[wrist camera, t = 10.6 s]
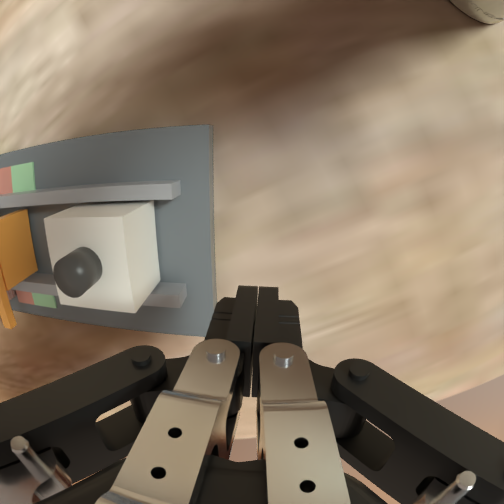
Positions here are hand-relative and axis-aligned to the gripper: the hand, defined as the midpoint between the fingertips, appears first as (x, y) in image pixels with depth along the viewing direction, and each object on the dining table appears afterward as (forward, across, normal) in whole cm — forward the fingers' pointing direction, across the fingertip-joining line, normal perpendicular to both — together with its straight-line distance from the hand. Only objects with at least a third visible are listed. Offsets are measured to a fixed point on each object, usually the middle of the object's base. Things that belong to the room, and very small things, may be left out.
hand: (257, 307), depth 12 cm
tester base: (+11, +16, +1) cm, 19 cm away
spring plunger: (+10, +11, +1) cm, 14 cm away
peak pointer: (+9, +20, +1) cm, 22 cm away
